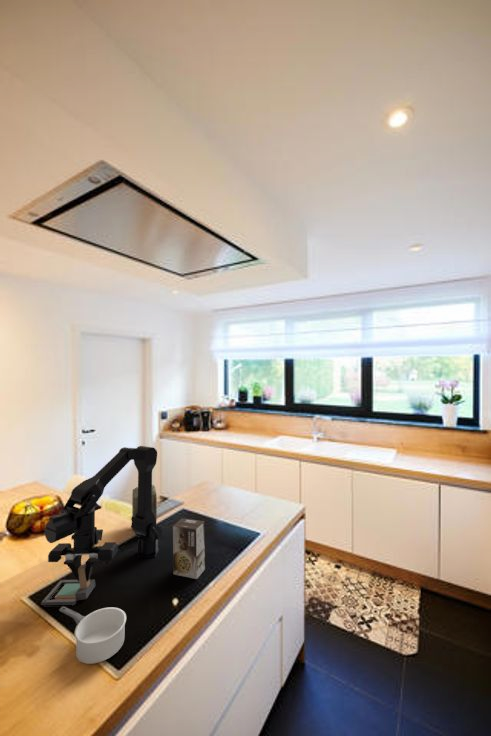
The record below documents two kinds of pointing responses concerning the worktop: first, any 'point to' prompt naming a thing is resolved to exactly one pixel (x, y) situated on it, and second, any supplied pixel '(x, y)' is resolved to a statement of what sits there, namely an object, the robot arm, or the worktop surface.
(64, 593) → the tile
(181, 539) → the coffee box
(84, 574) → the pusher
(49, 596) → the corral
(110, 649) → the saucepan
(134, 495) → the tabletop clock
